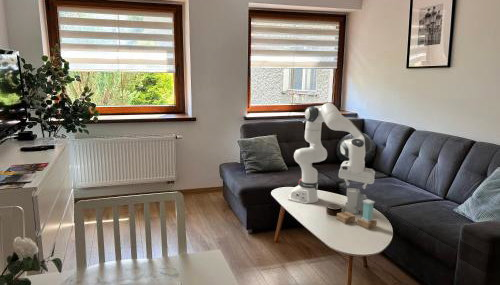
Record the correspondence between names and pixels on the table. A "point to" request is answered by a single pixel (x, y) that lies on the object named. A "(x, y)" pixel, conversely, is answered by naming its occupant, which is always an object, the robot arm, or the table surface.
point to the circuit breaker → (354, 201)
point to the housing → (367, 210)
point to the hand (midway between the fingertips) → (355, 186)
